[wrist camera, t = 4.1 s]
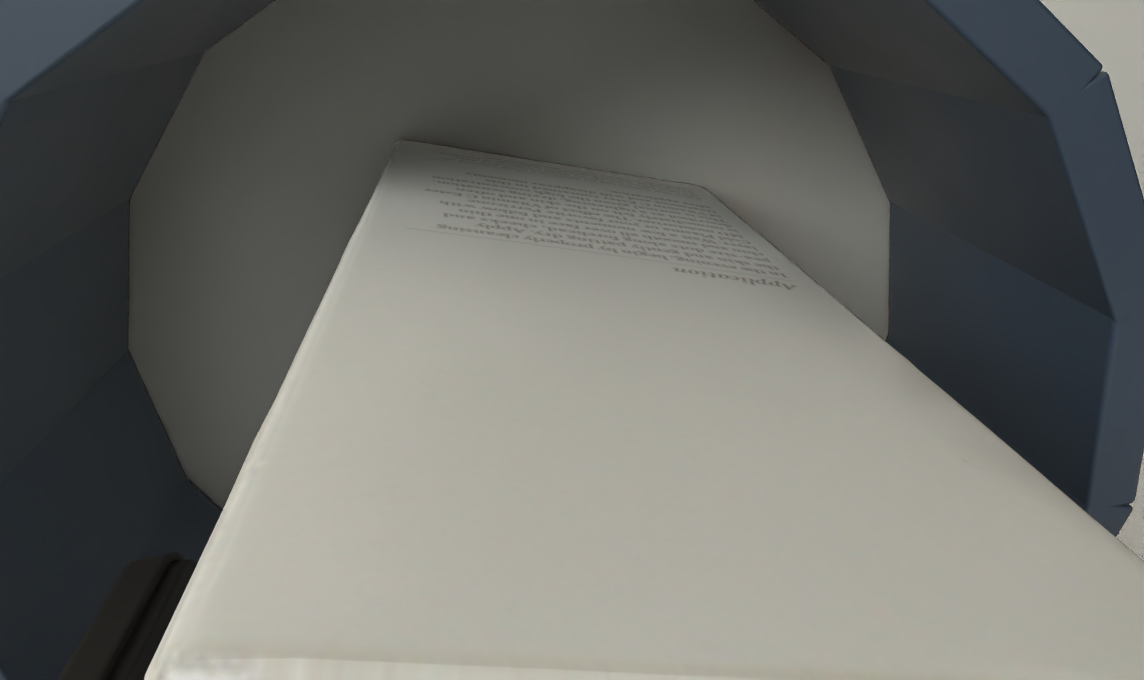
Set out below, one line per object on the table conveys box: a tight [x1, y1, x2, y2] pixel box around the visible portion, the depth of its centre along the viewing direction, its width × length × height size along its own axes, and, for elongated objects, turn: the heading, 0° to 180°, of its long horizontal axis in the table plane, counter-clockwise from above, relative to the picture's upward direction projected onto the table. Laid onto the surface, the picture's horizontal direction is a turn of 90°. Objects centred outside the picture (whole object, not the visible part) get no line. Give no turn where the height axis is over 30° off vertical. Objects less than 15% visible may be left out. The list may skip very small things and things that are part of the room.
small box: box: [144, 140, 1144, 680], centre depth 11 cm, size 8×6×13 cm
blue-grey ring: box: [0, 0, 1144, 680], centre depth 14 cm, size 18×20×6 cm
